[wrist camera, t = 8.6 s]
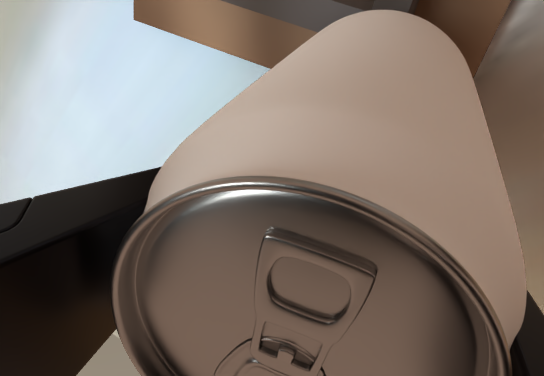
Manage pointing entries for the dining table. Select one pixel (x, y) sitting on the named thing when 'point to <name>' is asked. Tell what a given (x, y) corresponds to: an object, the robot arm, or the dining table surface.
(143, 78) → the dining table surface
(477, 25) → the socket block
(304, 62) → the can
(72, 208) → the robot arm
